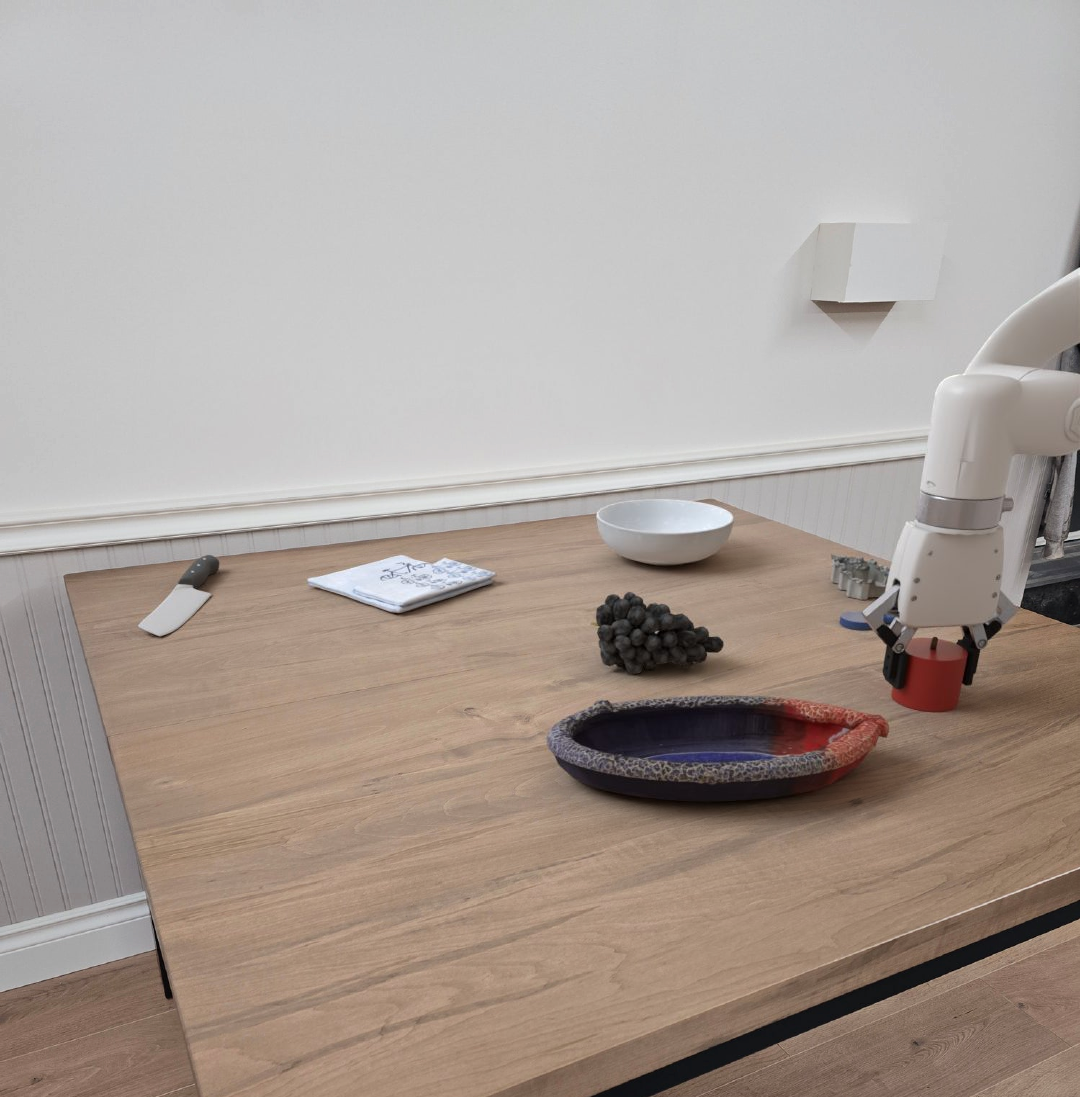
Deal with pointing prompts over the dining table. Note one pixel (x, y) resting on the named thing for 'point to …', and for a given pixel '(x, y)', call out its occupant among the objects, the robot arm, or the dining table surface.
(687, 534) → the serving bowl
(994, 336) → the robot arm
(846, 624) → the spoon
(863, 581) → the egg carton
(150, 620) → the kitchen knife
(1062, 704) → the dining table surface
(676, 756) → the dish
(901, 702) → the red stemmed cylinder
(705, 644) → the fruit
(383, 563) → the folded tea towel
